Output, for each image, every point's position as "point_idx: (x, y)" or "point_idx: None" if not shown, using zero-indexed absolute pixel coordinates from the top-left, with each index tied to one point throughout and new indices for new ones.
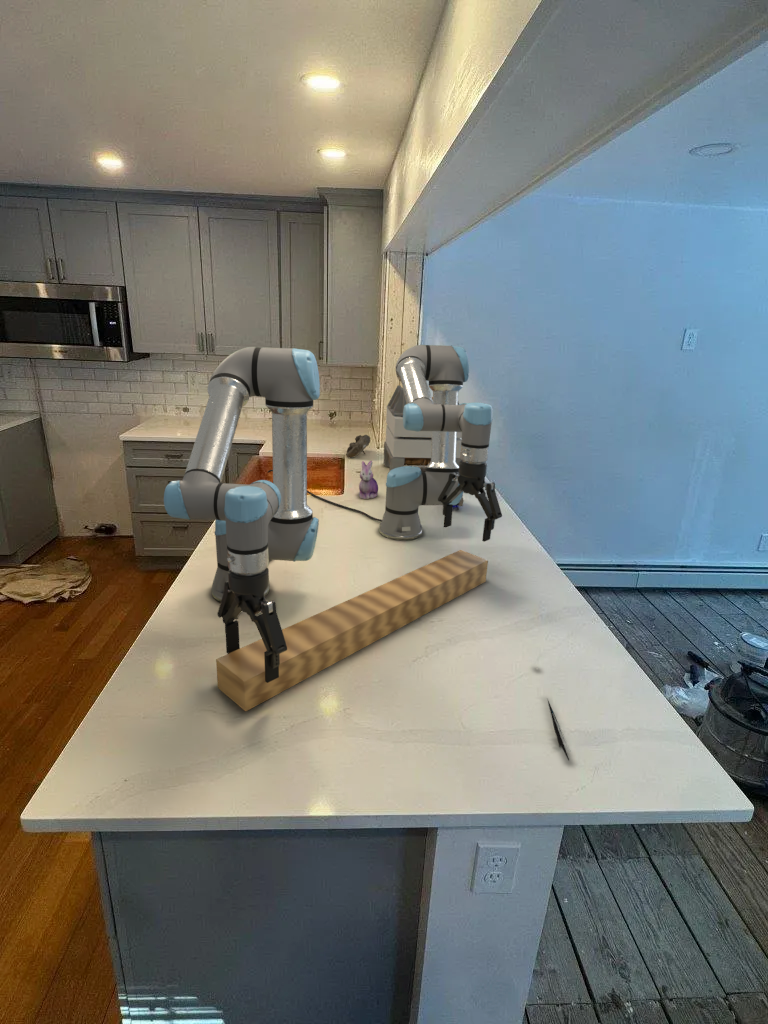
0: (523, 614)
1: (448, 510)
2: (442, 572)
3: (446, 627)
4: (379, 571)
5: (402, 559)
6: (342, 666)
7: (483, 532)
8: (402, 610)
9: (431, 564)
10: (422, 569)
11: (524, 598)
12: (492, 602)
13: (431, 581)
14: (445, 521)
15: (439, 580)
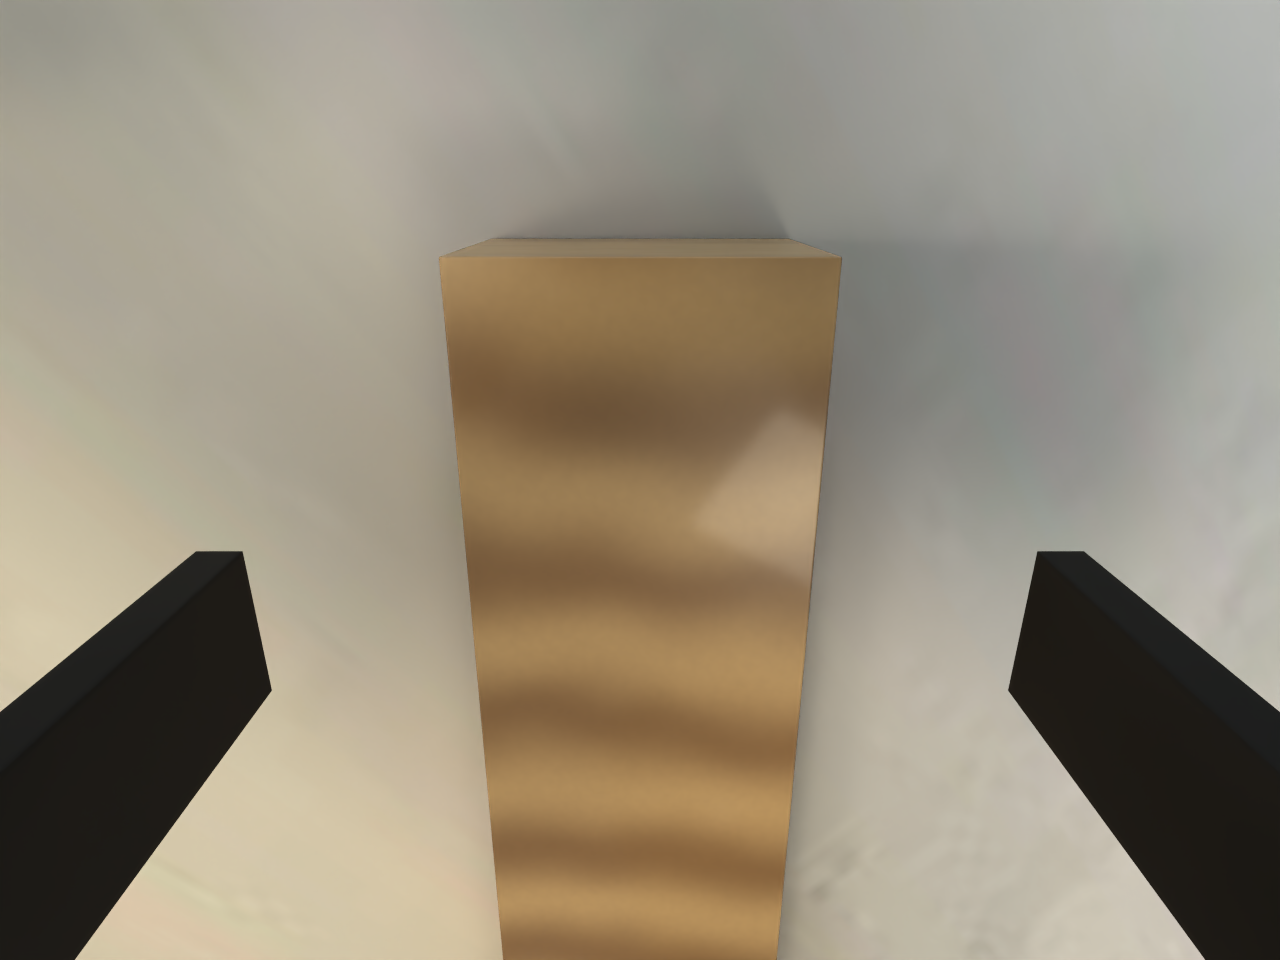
0: (1247, 481)
1: (38, 931)
2: (673, 788)
3: (909, 884)
4: None
5: (41, 433)
6: None
7: (1090, 796)
8: None
9: (507, 744)
10: (526, 849)
11: (1185, 254)
12: (995, 496)
13: (710, 933)
14: (201, 768)
15: (743, 890)
